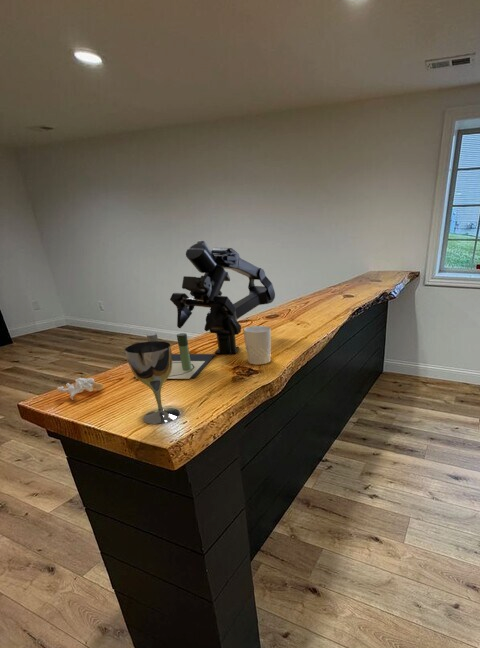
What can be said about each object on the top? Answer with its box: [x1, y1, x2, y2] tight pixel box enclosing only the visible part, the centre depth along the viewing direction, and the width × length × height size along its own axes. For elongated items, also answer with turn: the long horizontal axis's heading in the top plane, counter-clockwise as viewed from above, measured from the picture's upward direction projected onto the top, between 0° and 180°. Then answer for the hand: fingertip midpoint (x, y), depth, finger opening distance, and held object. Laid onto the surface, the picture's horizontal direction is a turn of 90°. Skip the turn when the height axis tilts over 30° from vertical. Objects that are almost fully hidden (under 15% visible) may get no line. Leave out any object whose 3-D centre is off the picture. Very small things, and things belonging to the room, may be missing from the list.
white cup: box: [243, 325, 272, 366], centre depth 103 cm, size 8×8×10 cm
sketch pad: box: [133, 353, 216, 380], centre depth 101 cm, size 21×16×1 cm
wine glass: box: [124, 340, 181, 425], centre depth 70 cm, size 8×8×15 cm
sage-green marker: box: [176, 332, 192, 371], centre depth 95 cm, size 2×2×10 cm
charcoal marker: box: [146, 332, 159, 342], centre depth 95 cm, size 2×2×10 cm
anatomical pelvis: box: [56, 377, 104, 401], centre depth 82 cm, size 8×4×7 cm
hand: (192, 329), depth 97 cm, fingers open, 9 cm apart
